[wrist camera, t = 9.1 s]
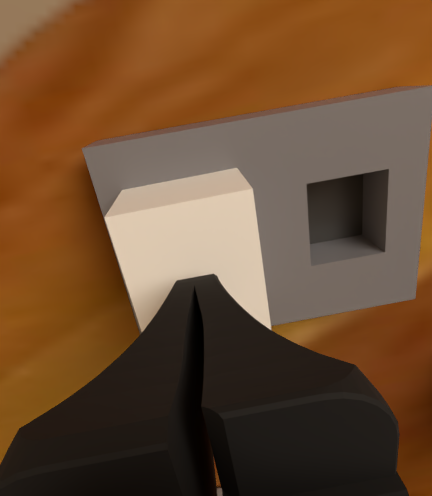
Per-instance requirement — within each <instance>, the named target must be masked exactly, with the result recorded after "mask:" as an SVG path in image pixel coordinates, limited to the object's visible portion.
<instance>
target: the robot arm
mask: <svg viewBox="0 0 432 496" xmlns="http://www.w3.org/2000/svg"><path fill="white" fill-rule="evenodd" d="M398 445H399V428H398V421H397V420H396V418H395V416H394V414H393V412H392V411H391V409H390V407H389V406H388V404H387V403H386V401H385V400H384V398H383V397H382V396H381V394H380V393H379V392H378V391H377V389H376V388H375V387H374V386H373V385H372V383H371V382H370V381H369V380H368V379H367V378H366V377H365V375H364V374H363V373H362V372H361V371H360V370H359V369H358V367H357V366H356V365H354V364H350V363H347V362H344V361H341V360H338V359H335V358H331V357H328V356H325V355H322V354H319V353H317V352H314V351H312V350H309V349H307V348H305V347H302V346H300V345H298V344H296V343H293V342H291V341H290V340H288V339H286V338H284V337H282V336H280V335H278V334H277V333H275V332H273V331H272V330H270V329H269V328H267V327H266V326H264V325H263V324H262V323H260V322H259V321H258V320H256V319H255V318H254V317H253V316H251V315H250V314H249V313H248V312H247V311H246V310H245V309H243V308H242V307H241V306H240V305H239V304H238V303H237V302H236V301H235V300H234V298H233V297H232V296H231V295H230V294H229V293H228V292H227V291H226V289H225V288H224V287H223V285H222V284H221V282H220V281H219V279H218V276H216V275H215V274H209V275H203V276H198V277H192V278H187V279H182V280H177V281H176V282H175V284H174V285H173V287H172V289H171V291H170V292H169V294H168V296H167V297H166V299H165V301H164V302H163V304H162V305H161V307H160V308H159V310H158V311H157V313H156V314H155V316H154V317H153V319H152V320H151V321H150V323H149V324H148V325H147V327H146V328H145V329H144V331H143V332H142V333H141V334H140V336H139V337H138V338H137V339H136V340H135V341H134V342H133V343H132V344H131V345H130V347H129V348H128V349H127V350H126V351H125V352H124V353H123V354H122V355H121V356H120V357H118V358H117V359H116V360H115V361H114V362H113V363H112V364H111V365H109V366H108V367H107V368H106V369H105V370H104V371H103V372H102V373H100V374H99V375H98V376H97V377H96V378H94V379H93V380H92V381H90V382H89V383H88V384H87V385H85V386H84V387H83V388H81V389H80V390H78V391H77V392H76V393H74V394H73V395H72V396H70V397H69V398H67V399H66V400H64V401H63V402H61V403H60V404H58V405H57V406H55V407H54V408H52V409H50V410H49V411H47V412H46V413H44V414H42V415H41V416H39V417H38V418H36V419H34V420H33V421H31V422H30V423H28V424H26V425H24V426H23V427H21V428H19V430H18V432H17V434H16V436H15V437H14V439H13V441H12V443H11V445H10V447H9V449H8V450H7V452H6V454H5V457H4V459H3V461H2V463H1V465H0V496H217V487H216V478H215V469H214V460H215V464H216V468H217V472H218V476H219V480H220V484H221V488H222V495H223V496H409V495H408V491H407V489H406V487H405V485H404V484H403V482H402V480H401V478H400V477H399V475H398V473H397V471H396V470H397V457H398ZM213 456H214V460H213Z"/></svg>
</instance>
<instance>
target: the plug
mask: <svg viewBox="0 0 432 496" xmlns="http://www.w3.org/2000/svg"><path fill="white" fill-rule="evenodd" d="M104 218H105V221H106V224H107V227H108V231H109V234H110V237H111V240H112V243H113V246H114V249H115V252H116V255H117V258H118V261H119V264H120V267H121V270H122V273H123V277H124V280H125V283H126V286H127V289H128V292H129V295H130V298H131V301H132V304H133V307H134V310H135V313H136V316H137V319H138V323H139V326H140V329H141V332H143V331H144V329H145V328H146V327H147V325H148V324H149V323H150V321H151V320H152V319H153V317H154V316H155V314H156V313H157V311H158V310H159V308H160V307H161V305H162V304H163V302H164V301H165V299H166V297H167V296H168V294H169V292H170V291H171V289H172V287H173V285H174V284H175V282H176V281H177V280H182V279H187V278H192V277H198V276H203V275H209V274H215V275H216V276H218V279H219V281H220V282H221V284H222V285H223V287H224V288H225V289H226V291H227V292H228V293H229V294H230V295H231V296H232V297H233V298H234V300H235V301H236V302H237V303H238V304H239V305H240V306H241V307H242V308H243V309H245V310H246V311H247V312H248V313H249V314H250V315H251V316H253V317H254V318H255V319H256V320H258V321H259V322H260V323H262V324H263V325H264V326H266V327H267V328H269V329H270V330H271V322H270V315H269V307H268V300H267V292H266V284H265V277H264V269H263V262H262V254H261V247H260V239H259V232H258V224H257V216H256V209H255V201H254V194H253V188H252V187H251V186H250V184H249V183H248V182H247V180H246V179H245V178H244V176H243V175H242V174H241V172H240V171H239V170H238V168H233V169H228V170H223V171H218V172H213V173H208V174H202V175H197V176H192V177H187V178H182V179H177V180H172V181H166V182H161V183H156V184H151V185H146V186H141V187H135V188H130V189H125V190H122V191H121V192H120V194H119V195H118V197H117V199H116V200H115V202H114V203H113V205H112V206H111V208H110V209H109V211H108V213H107V214H106V216H105V217H104Z"/></svg>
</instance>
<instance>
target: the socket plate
mask: <svg viewBox="0 0 432 496" xmlns="http://www.w3.org/2000/svg"><path fill="white" fill-rule="evenodd" d="M431 121H432V85H431V86H406V87H395V88H389V89H383V90H378V91H372V92H367V93H361V94H356V95H350V96H344V97H339V98H333V99H328V100H322V101H316V102H311V103H305V104H300V105H294V106H288V107H283V108H277V109H272V110H266V111H261V112H255V113H249V114H244V115H238V116H233V117H227V118H221V119H216V120H210V121H205V122H199V123H194V124H188V125H182V126H177V127H171V128H166V129H160V130H154V131H149V132H143V133H138V134H132V135H127V136H121V137H115V138H110V139H104V140H99V141H95V142H93V143H92V144H90V145H88V146H86V147H84V148H82V150H83V154H84V157H85V160H86V163H87V166H88V170H89V173H90V176H91V179H92V182H93V186H94V189H95V192H96V195H97V198H98V202H99V205H100V208H101V211H102V214H103V217H105V216H106V214H107V213H108V211H109V209H110V208H111V206H112V205H113V203H114V202H115V200H116V199H117V197H118V195H119V194H120V192H121V191H122V190H125V189H130V188H135V187H141V186H146V185H151V184H156V183H161V182H166V181H172V180H177V179H182V178H187V177H192V176H197V175H202V174H208V173H213V172H218V171H223V170H228V169H233V168H238V170H239V171H240V172H241V174H242V175H243V176H244V178H245V179H246V180H247V182H248V183H249V184H250V186H251V187H252V188H253V194H254V201H255V209H256V216H257V224H258V232H259V239H260V247H261V254H262V262H263V269H264V277H265V284H266V292H267V300H268V307H269V315H270V322H271V326H274V325H279V324H284V323H290V322H295V321H300V320H305V319H311V318H316V317H321V316H327V315H332V314H337V313H343V312H348V311H353V310H358V309H364V308H369V307H374V306H380V305H385V304H390V303H396V302H401V301H406V300H411V299H415V296H416V285H417V274H418V263H419V252H420V241H421V230H422V219H423V208H424V197H425V186H426V175H427V164H428V153H429V142H430V132H431ZM104 221H105V218H104ZM105 224H106V221H105ZM106 227H107V224H106ZM107 230H108V227H107ZM108 233H109V231H108ZM109 237H110V234H109ZM110 240H111V237H110ZM111 243H112V240H111ZM112 246H113V243H112ZM113 249H114V246H113ZM114 253H115V256H116V259H117V262H118V265H119V269H120V272H121V275H122V278H123V281H124V284H125V288H126V291H127V294H128V297H129V300H130V304H131V307H132V310H133V313H134V316H135V320H136V323H137V326H138V329H139V332H140V334H141V333H142V332H141V329H140V326H139V323H138V319H137V316H136V313H135V310H134V307H133V304H132V301H131V298H130V295H129V292H128V289H127V286H126V283H125V280H124V277H123V273H122V270H121V267H120V264H119V261H118V258H117V255H116V252H115V249H114Z"/></svg>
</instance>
